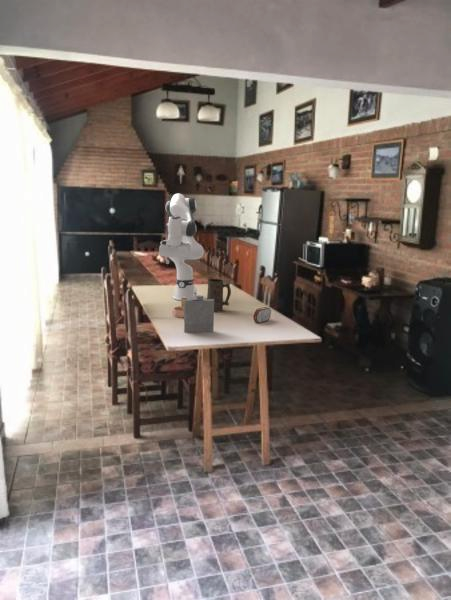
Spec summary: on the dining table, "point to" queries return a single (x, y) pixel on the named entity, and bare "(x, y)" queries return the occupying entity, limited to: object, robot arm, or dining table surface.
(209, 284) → the beer stein
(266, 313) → the tin
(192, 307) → the hip flask
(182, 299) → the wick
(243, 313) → the dining table surface
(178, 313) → the candle jar
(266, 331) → the dining table surface
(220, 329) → the dining table surface
